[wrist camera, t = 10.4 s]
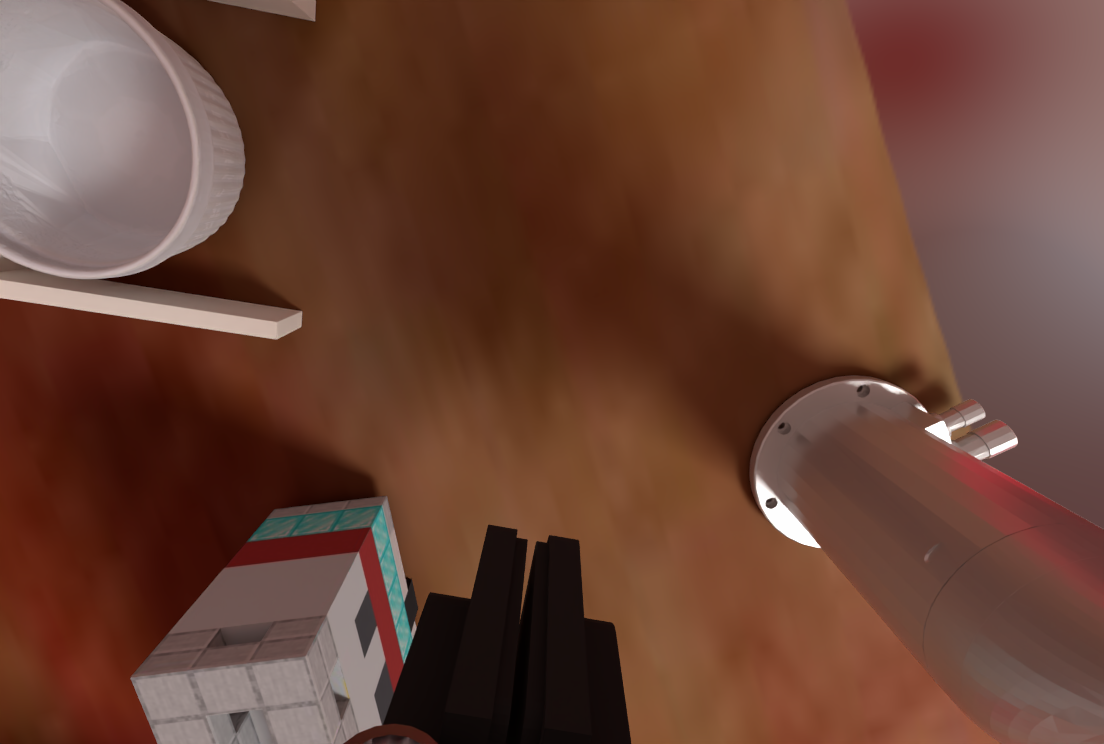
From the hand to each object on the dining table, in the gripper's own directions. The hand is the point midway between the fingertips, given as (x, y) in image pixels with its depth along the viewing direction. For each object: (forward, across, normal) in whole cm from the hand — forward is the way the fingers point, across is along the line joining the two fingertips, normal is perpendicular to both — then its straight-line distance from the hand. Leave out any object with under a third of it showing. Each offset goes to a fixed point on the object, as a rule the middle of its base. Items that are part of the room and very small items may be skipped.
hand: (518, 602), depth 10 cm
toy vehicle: (+26, +8, +28) cm, 39 cm away
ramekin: (+25, +24, -6) cm, 35 cm away
